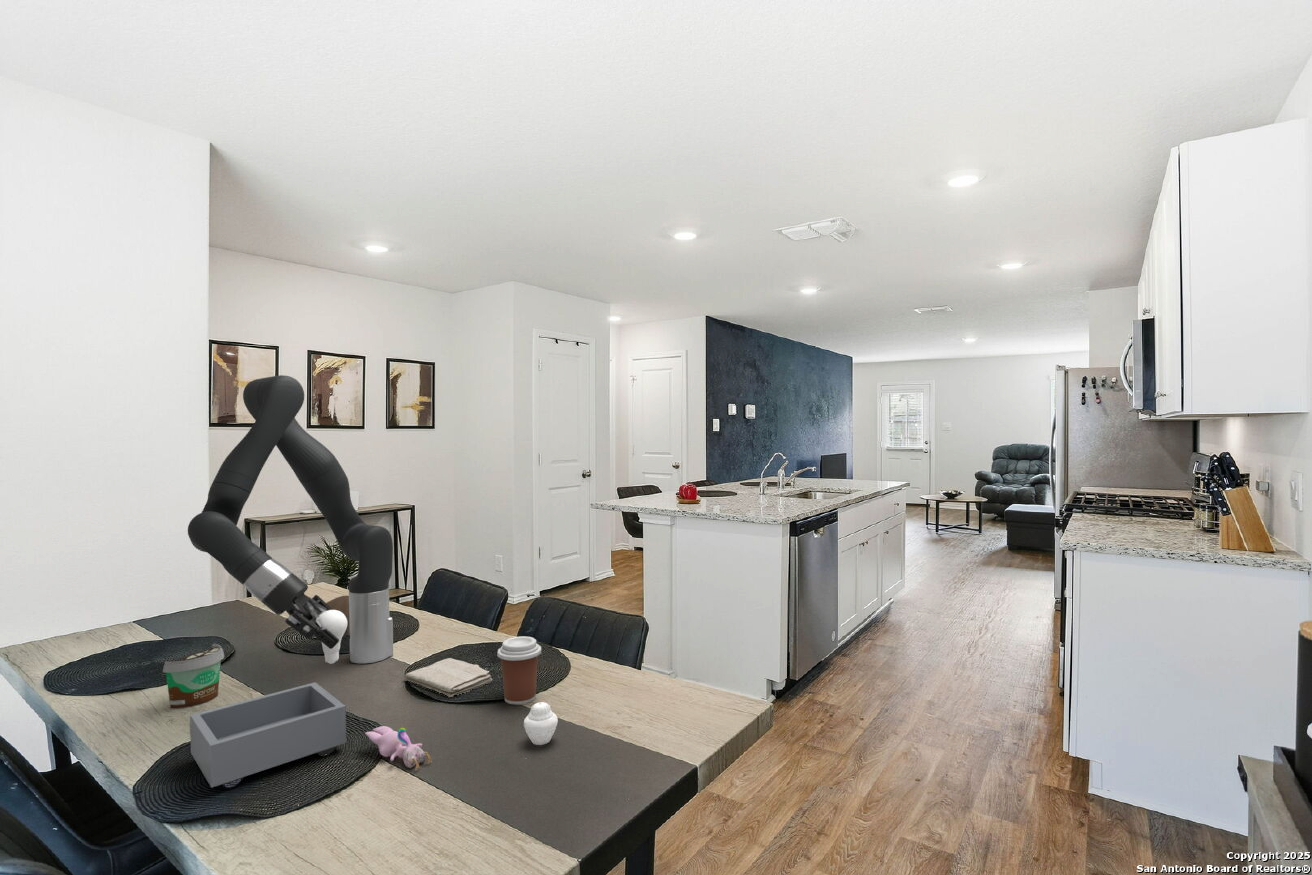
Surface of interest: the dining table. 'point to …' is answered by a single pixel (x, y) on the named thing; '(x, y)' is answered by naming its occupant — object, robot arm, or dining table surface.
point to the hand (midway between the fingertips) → (340, 639)
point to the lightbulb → (333, 632)
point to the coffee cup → (519, 669)
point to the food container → (194, 678)
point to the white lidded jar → (540, 723)
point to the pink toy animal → (398, 746)
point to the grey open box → (266, 732)
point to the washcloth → (450, 677)
